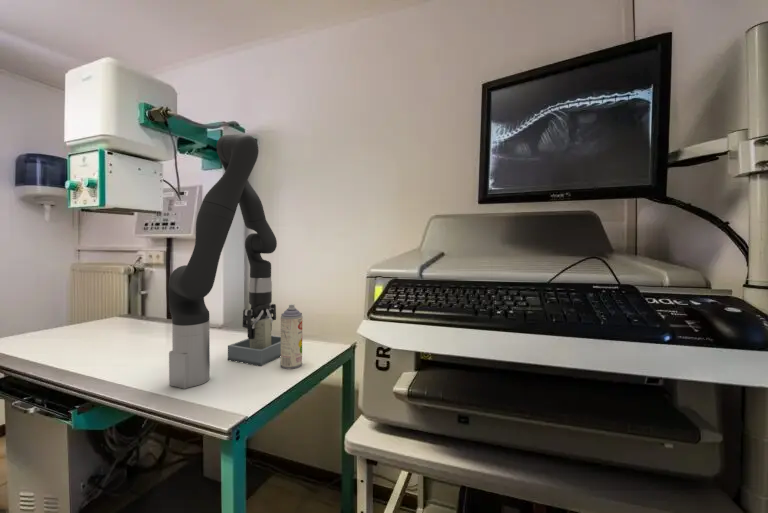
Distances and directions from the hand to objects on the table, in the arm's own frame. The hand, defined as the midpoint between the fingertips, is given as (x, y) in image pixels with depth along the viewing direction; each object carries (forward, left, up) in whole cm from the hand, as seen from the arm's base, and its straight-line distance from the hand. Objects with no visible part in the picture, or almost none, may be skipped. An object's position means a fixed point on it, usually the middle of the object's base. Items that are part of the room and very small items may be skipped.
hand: (260, 335), depth 118 cm
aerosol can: (-3, -16, -7) cm, 18 cm away
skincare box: (0, 0, -6) cm, 6 cm away
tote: (0, 0, -7) cm, 7 cm away
